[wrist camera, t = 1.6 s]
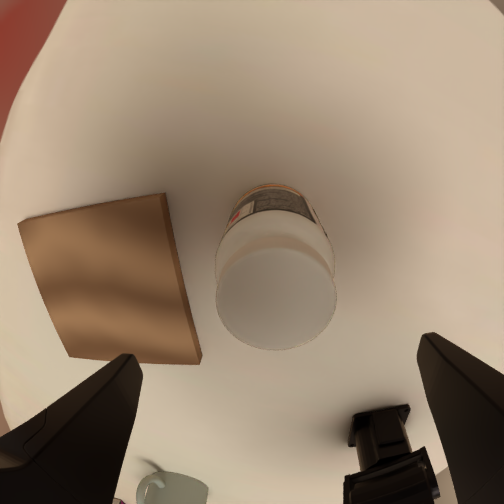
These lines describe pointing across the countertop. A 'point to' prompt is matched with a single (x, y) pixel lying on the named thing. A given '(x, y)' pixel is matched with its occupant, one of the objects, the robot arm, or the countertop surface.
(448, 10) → the countertop surface
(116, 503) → the candy bar box
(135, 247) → the plinth
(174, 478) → the mug
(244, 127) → the countertop surface
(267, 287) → the pill bottle
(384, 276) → the countertop surface
